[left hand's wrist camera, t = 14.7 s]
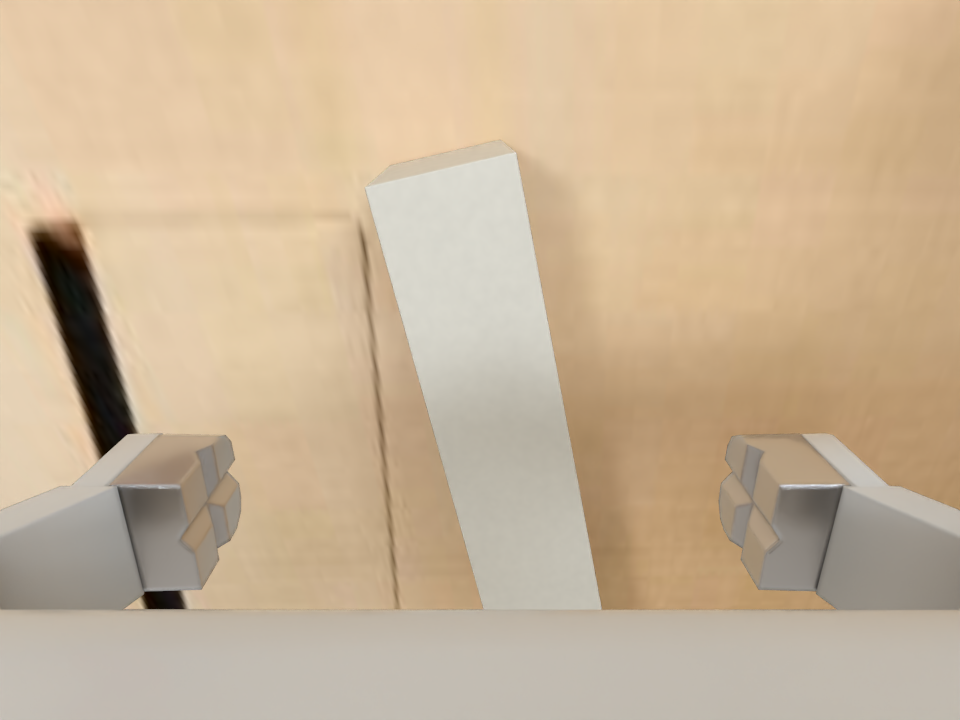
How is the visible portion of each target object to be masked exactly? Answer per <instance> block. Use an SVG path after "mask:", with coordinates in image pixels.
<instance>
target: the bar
mask: <svg viewBox="0 0 960 720" xmlns="http://www.w3.org/2000/svg"><path fill="white" fill-rule="evenodd" d="M365 191H366V195H367V198H368V202H369V205H370V209H371V212H372V216H373V220H374V223H375V227H376V230H377V234H378V237H379V241H380V244H381V248H382V251H383V255H384V258H385V262H386V266H387V269H388V273H389V276H390V280H391V283H392V287H393V290H394V294H395V297H396V301H397V305H398V308H399V312H400V315H401V319H402V322H403V326H404V329H405V333H406V336H407V340H408V343H409V347H410V351H411V354H412V358H413V361H414V365H415V368H416V372H417V375H418V379H419V382H420V386H421V390H422V393H423V397H424V400H425V404H426V407H427V411H428V414H429V418H430V421H431V425H432V428H433V432H434V436H435V439H436V443H437V446H438V450H439V453H440V457H441V460H442V464H443V467H444V471H445V475H446V478H447V482H448V485H449V489H450V492H451V496H452V499H453V503H454V506H455V510H456V514H457V517H458V521H459V524H460V528H461V531H462V535H463V538H464V542H465V545H466V549H467V552H468V556H469V560H470V563H471V567H472V570H473V574H474V577H475V581H476V584H477V588H478V591H479V595H480V599H481V602H482V606H483V609H484V610H602V607H601V601H600V596H599V591H598V585H597V580H596V575H595V569H594V564H593V559H592V553H591V548H590V543H589V537H588V532H587V527H586V521H585V516H584V511H583V505H582V500H581V495H580V489H579V484H578V479H577V473H576V468H575V463H574V457H573V452H572V447H571V441H570V436H569V431H568V425H567V420H566V415H565V409H564V404H563V398H562V393H561V388H560V382H559V377H558V372H557V366H556V361H555V356H554V350H553V345H552V340H551V334H550V329H549V324H548V318H547V313H546V308H545V302H544V297H543V292H542V286H541V281H540V276H539V270H538V265H537V260H536V254H535V249H534V244H533V238H532V233H531V228H530V222H529V217H528V212H527V206H526V201H525V196H524V190H523V185H522V180H521V174H520V169H519V164H518V158H517V153H516V152H515V151H514V150H512V149H511V148H510V147H509V146H508V145H506V144H505V143H504V142H503V141H502V140H497V141H493V142H489V143H484V144H480V145H476V146H472V147H467V148H463V149H459V150H454V151H450V152H446V153H442V154H437V155H433V156H429V157H424V158H420V159H416V160H412V161H407V162H403V163H399V164H395V165H390V166H389V167H388V168H386V169H385V170H384V171H383V172H382V173H381V174H380V175H378V176H377V177H376V178H375V179H374V180H373V181H372V182H370V183H369V184H368V185H367V186H366V187H365Z"/></svg>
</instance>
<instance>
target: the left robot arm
mask: <svg viewBox="0 0 960 720" xmlns="http://www.w3.org/2000/svg"><path fill="white" fill-rule="evenodd" d="M234 460H235V457H234V453H233V448H232V443H231V441H230V440H229V438H228V437H227V436H226V435H201V434H162V433H149V434H129V435H126V436H125V437H124V438H123V439H122V440H121V441H120V442H119V443H118V444H117V445H115V446H114V447H113V448H112V449H111V450H110V451H109V452H108V453H107V454H106V455H104V456H103V457H102V458H101V459H100V460H99V461H98V462H97V463H96V464H95V465H93V466H92V467H91V468H90V469H89V470H88V471H87V472H86V473H85V474H84V475H82V476H81V477H80V478H79V479H78V480H77V481H76V482H75V483H74V484H72V485H71V486H59V487H57V488H54V489H52V490H49V491H47V492H44V493H42V494H39V495H37V496H34V497H32V498H29V499H27V500H24V501H22V502H19V503H17V504H14V505H12V506H9V507H7V508H4V509H2V510H0V720H960V510H958V509H956V508H953V507H951V506H948V505H946V504H943V503H941V502H938V501H936V500H933V499H931V498H928V497H926V496H923V495H921V494H918V493H916V492H913V491H911V490H908V489H906V488H903V487H901V486H889V485H888V484H886V483H885V482H884V481H883V480H882V479H881V478H880V477H879V476H878V475H877V474H875V473H874V472H873V471H872V470H871V469H870V468H869V467H868V466H867V465H866V464H865V463H863V462H862V461H861V460H860V459H859V458H858V457H857V456H856V455H855V454H854V453H852V452H851V451H850V450H849V449H848V448H847V447H846V446H845V445H844V444H843V443H841V442H840V441H839V440H838V439H837V438H836V437H835V436H834V435H831V434H827V433H814V434H763V435H737V436H732V437H731V439H730V442H729V444H728V446H727V452H726V457H725V460H726V462H727V463H728V465H729V466H730V468H731V470H732V473H731V474H730V475H729V476H728V477H727V478H726V479H725V480H724V481H723V482H722V483H721V488H720V495H719V510H720V519H721V522H722V525H723V529H724V531H725V533H726V535H727V536H728V538H729V540H730V541H731V542H733V543H735V544H736V545H738V546H740V547H741V548H743V550H742V555H741V561H742V562H743V564H744V566H745V568H746V569H747V571H748V573H749V574H750V576H751V578H752V579H753V581H754V583H755V584H756V586H757V588H758V590H789V591H816V594H817V595H818V596H820V597H821V598H822V599H824V600H825V601H826V602H828V603H829V604H831V605H832V606H833V607H835V608H836V609H837V610H265V609H124V608H126V607H127V606H128V605H130V604H131V603H132V602H134V601H135V600H136V599H138V598H139V597H141V596H142V595H143V594H144V591H170V590H202V588H203V586H204V585H205V583H206V581H207V579H208V578H209V576H210V574H211V573H212V571H213V569H214V568H215V566H216V564H217V562H218V561H219V555H218V550H217V548H219V547H220V546H222V545H224V544H225V543H227V542H229V541H230V540H231V538H232V536H233V534H234V533H235V531H236V529H237V526H238V521H239V517H240V513H241V493H240V487H239V483H238V482H237V481H236V480H235V479H234V478H233V477H232V476H231V475H230V474H229V473H228V470H229V468H230V467H231V465H232V463H233V462H234Z"/></svg>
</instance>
